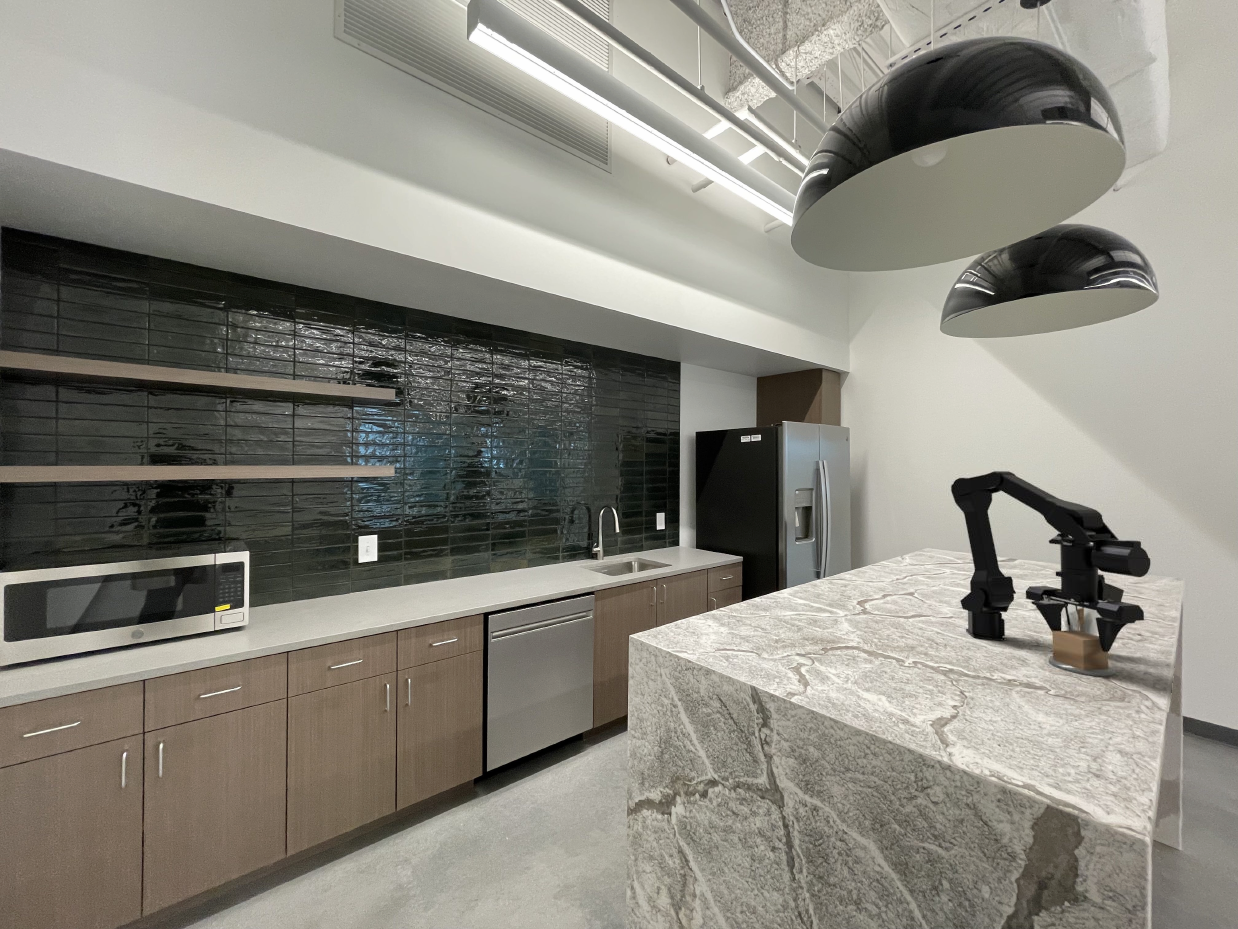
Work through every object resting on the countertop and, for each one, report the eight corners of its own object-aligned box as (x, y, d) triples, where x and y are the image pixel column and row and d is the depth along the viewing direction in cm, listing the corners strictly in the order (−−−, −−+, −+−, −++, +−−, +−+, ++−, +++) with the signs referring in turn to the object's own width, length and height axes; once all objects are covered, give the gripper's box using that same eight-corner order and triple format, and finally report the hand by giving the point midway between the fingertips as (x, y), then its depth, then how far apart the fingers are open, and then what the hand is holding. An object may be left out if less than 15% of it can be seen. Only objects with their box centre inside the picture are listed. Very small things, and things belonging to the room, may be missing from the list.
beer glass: (1098, 658, 108) (1097, 589, 109) (1057, 649, 114) (1055, 583, 114) (1106, 652, 112) (1104, 585, 113) (1065, 643, 118) (1064, 580, 118)
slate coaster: (1063, 672, 100) (1063, 669, 100) (1039, 656, 109) (1039, 653, 109) (1127, 679, 96) (1126, 676, 96) (1096, 662, 106) (1096, 659, 106)
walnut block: (1083, 670, 99) (1083, 640, 100) (1052, 659, 105) (1052, 631, 105) (1108, 669, 100) (1107, 639, 100) (1076, 658, 106) (1076, 630, 106)
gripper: (1166, 575, 95) (1168, 658, 95) (1064, 560, 114) (1066, 629, 113) (1118, 577, 94) (1120, 661, 93) (1023, 561, 112) (1024, 631, 111)
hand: (1080, 644), depth 103 cm, fingers open, 9 cm apart
